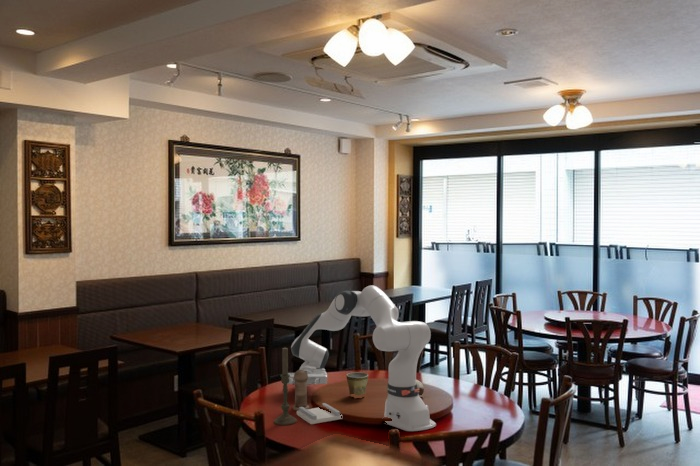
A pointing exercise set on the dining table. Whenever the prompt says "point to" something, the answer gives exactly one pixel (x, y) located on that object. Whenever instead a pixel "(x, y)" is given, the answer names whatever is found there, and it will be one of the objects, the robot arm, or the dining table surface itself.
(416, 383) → the skull
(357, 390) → the ceramic cup
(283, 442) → the dining table surface
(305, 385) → the tan wooden upright piece
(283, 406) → the candlestick holder
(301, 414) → the tray
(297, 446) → the dining table surface
